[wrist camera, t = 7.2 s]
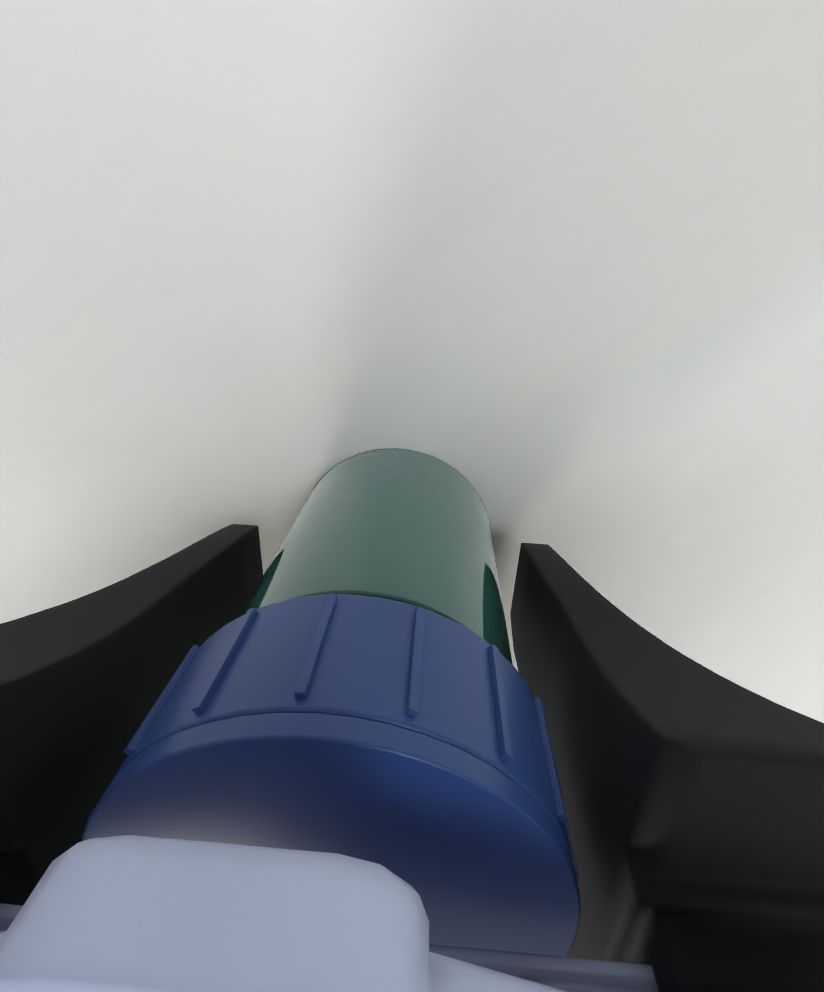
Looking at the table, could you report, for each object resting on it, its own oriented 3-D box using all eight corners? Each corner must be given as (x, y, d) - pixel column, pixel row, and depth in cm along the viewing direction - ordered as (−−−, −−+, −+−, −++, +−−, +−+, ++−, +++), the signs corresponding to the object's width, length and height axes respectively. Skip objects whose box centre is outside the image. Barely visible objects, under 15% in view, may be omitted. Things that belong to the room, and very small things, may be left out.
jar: (265, 530, 14) (63, 832, 6) (396, 406, 12) (321, 627, 5) (395, 640, 15) (348, 993, 8) (529, 542, 13) (627, 875, 6)
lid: (337, 892, 9) (308, 1061, 7) (96, 705, 8) (-26, 859, 6) (618, 783, 8) (677, 965, 6) (389, 512, 6) (361, 637, 4)
